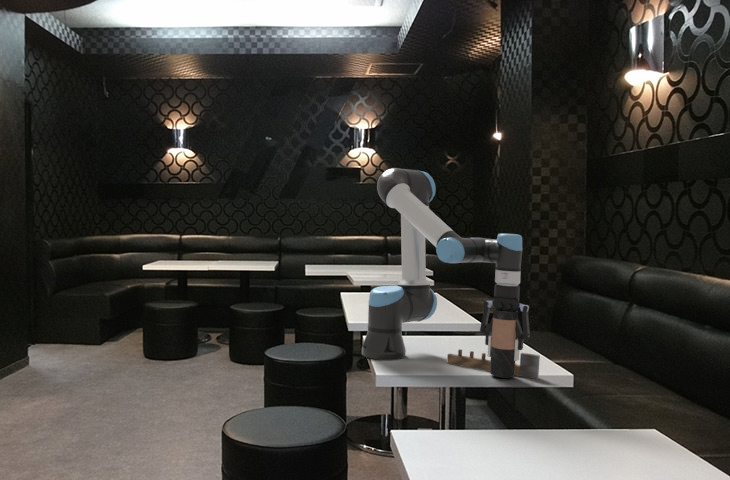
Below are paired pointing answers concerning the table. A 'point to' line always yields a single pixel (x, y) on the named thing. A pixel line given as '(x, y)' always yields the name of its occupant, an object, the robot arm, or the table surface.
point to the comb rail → (526, 367)
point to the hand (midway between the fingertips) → (503, 357)
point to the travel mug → (503, 343)
